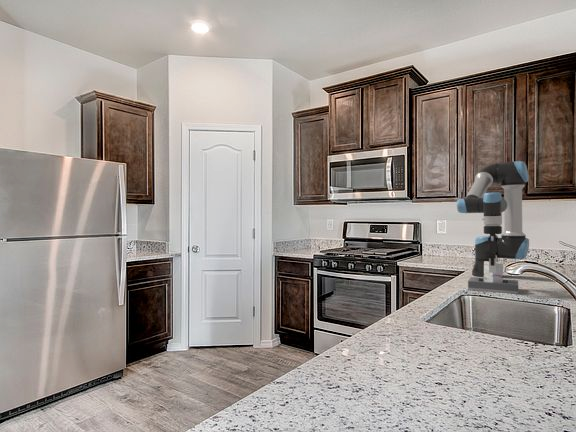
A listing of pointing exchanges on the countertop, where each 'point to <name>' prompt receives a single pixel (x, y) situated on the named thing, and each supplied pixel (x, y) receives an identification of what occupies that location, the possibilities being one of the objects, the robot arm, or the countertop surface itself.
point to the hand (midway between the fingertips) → (493, 270)
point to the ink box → (493, 277)
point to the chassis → (493, 285)
